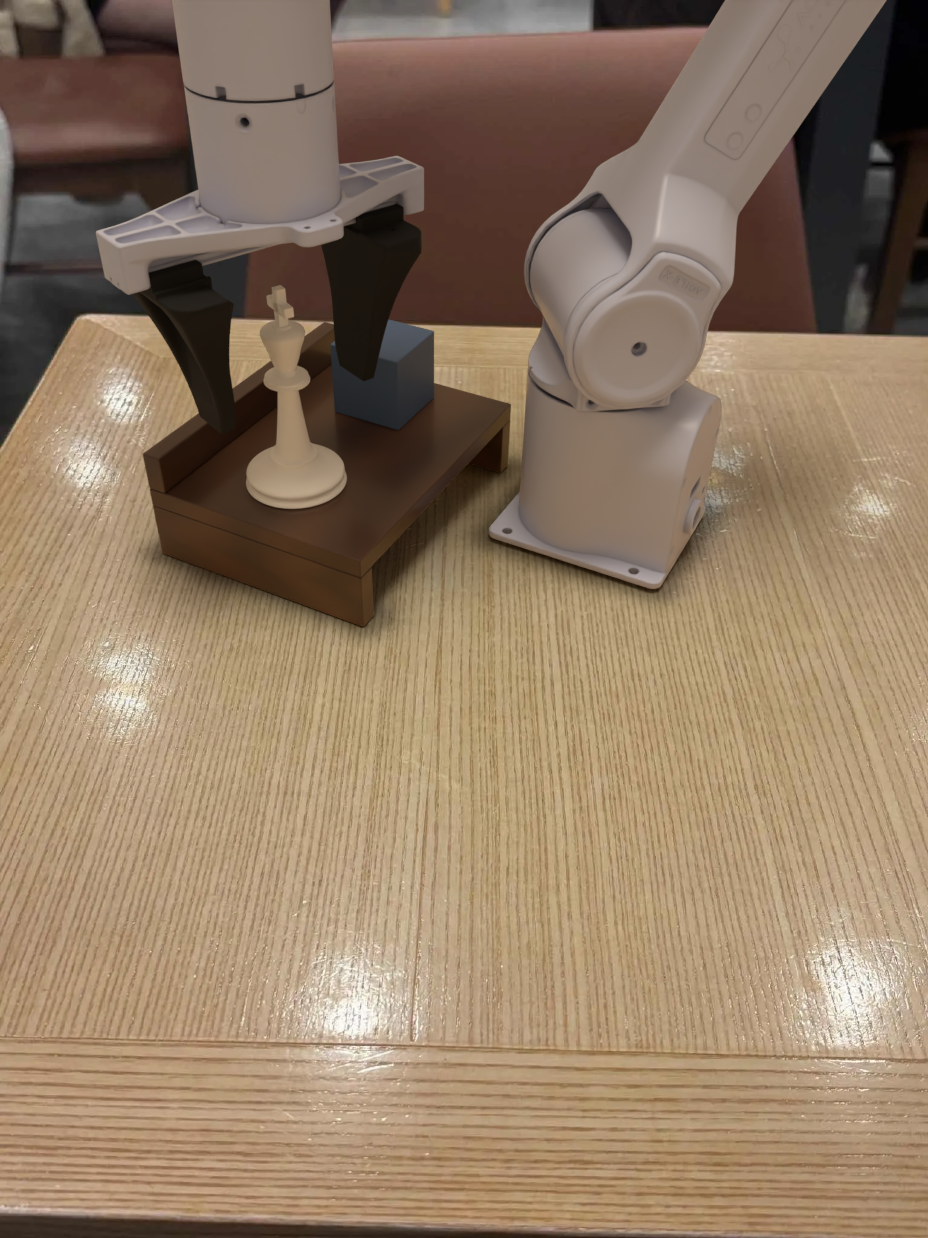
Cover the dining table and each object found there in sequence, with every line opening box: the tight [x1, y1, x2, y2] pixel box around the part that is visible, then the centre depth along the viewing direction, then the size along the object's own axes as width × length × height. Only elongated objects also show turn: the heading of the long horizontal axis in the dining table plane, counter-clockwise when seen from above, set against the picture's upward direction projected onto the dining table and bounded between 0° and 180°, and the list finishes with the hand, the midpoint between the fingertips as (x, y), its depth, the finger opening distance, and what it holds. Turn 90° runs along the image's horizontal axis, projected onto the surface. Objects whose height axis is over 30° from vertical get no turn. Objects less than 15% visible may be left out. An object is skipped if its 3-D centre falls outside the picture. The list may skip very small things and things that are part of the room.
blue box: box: [330, 319, 435, 430], centre depth 58 cm, size 4×4×4 cm
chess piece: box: [246, 284, 347, 509], centre depth 51 cm, size 5×5×10 cm
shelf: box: [142, 321, 512, 628], centre depth 57 cm, size 12×16×6 cm
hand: (289, 396), depth 51 cm, fingers open, 7 cm apart
